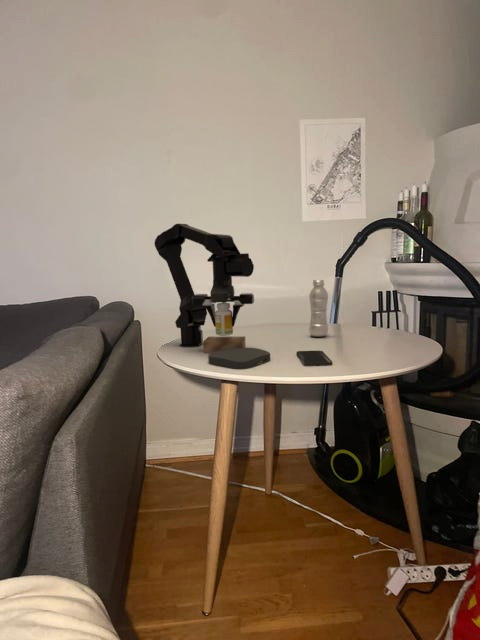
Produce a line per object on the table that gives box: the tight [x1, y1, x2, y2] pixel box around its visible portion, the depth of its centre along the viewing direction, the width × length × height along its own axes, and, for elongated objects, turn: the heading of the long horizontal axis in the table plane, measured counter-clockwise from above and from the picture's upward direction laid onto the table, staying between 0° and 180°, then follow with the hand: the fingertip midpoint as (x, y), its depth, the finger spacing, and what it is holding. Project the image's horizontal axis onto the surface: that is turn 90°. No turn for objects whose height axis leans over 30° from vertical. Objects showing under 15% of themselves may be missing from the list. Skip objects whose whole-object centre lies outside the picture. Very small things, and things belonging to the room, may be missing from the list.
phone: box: [296, 350, 333, 367], centre depth 120 cm, size 8×1×15 cm
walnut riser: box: [202, 335, 247, 354], centre depth 135 cm, size 12×8×4 cm, turn 82°
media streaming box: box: [208, 347, 271, 370], centre depth 121 cm, size 15×15×3 cm
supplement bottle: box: [215, 302, 234, 337], centre depth 134 cm, size 5×5×10 cm
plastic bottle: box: [308, 279, 329, 338], centre depth 151 cm, size 6×7×20 cm
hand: (224, 326), depth 134 cm, fingers closed on supplement bottle, 5 cm apart
